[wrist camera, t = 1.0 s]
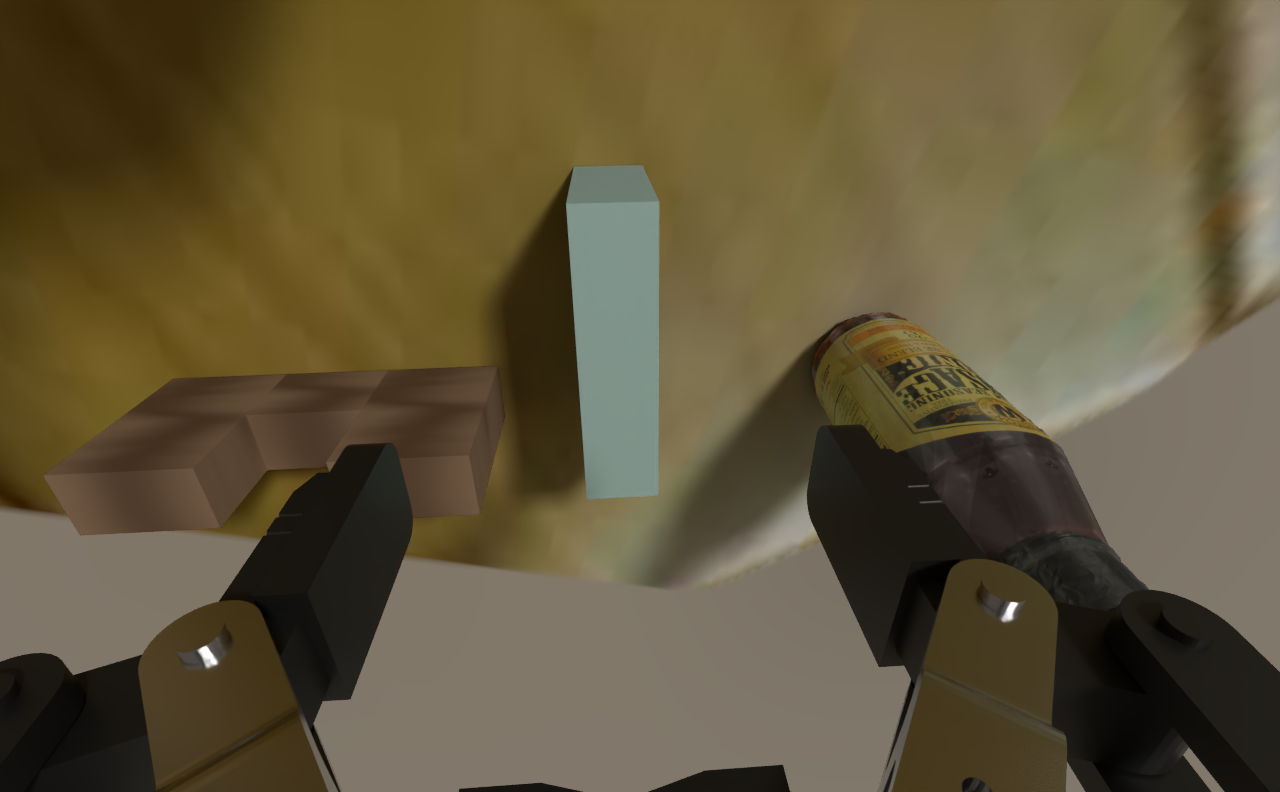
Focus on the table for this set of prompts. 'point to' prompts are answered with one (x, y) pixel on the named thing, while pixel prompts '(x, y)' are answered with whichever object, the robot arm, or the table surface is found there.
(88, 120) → the table surface
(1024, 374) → the table surface
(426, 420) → the walnut u-shaped block
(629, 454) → the teal board
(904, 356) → the sauce bottle
